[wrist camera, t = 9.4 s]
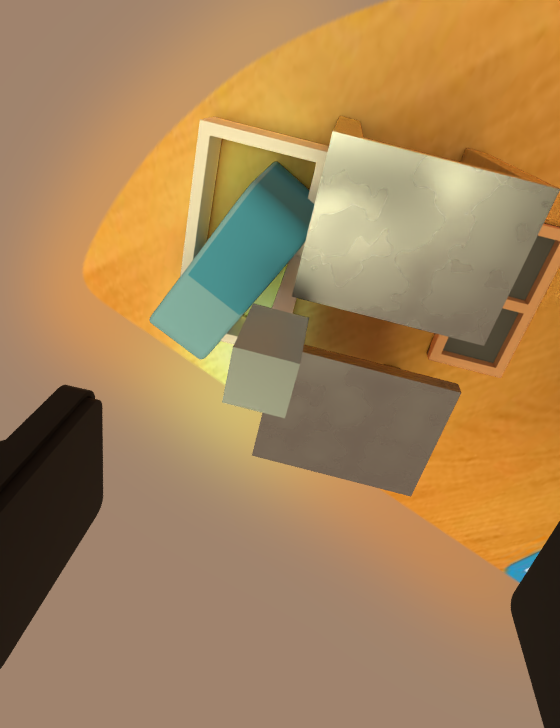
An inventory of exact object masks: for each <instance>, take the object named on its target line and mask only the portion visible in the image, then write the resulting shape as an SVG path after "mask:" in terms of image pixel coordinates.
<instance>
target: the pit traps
mask: <svg viewBox="0 0 560 728" xmlns="http://www.w3.org/2000/svg"><path fill="white" fill-rule="evenodd" d="M559 266H560V227H558V226H554V225H550V224H546V223H543V226H542V228H541V230H540V232H539V234H538V236H537V238H536V240H535V242H534V244H533V246H532V248H531V250H530V252H529V254H528V256H527V258H526V260H525V263H524V265H523V267H522V269H521V271H520V273H519V275H518V277H517V279H516V281H515V283H514V285H513V287H512V289H511V291H510V293H509V295H508V298H507V300H506V302H505V304H504V306H503V308H502V310H501V312H500V314H499V316H498V318H497V320H496V322H495V324H494V326H493V328H492V330H491V333H490V335H489V337H488V339H487V341H486V343H485V345H484V346H482V345H479V344H475V343H471V342H467V341H463V340H459V339H455V338H451V337H447V336H444V335H440V334H436V333H435V335H434V338H433V340H432V342H431V345H430V347H429V350H428V352H427V355H428V359H429V360H432V361H436V362H440V363H444V364H448V365H452V366H456V367H459V368H463V369H467V370H471V371H475V372H479V373H483V374H487V375H491V376H495V377H498V378H501V377H502V375H503V373H504V371H505V369H506V367H507V365H508V363H509V362H510V360H511V358H512V356H513V354H514V352H515V350H516V348H517V346H518V344H519V342H520V341H521V339H522V337H523V335H524V333H525V331H526V329H527V327H528V325H529V323H530V322H531V320H532V318H533V316H534V314H535V312H536V310H537V308H538V306H539V304H540V302H541V301H542V299H543V297H544V295H545V293H546V291H547V289H548V287H549V285H550V283H551V282H552V280H553V278H554V276H555V274H556V272H557V270H558V268H559Z"/></svg>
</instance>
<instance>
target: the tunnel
mask: <svg viewBox="0 0 560 728" xmlns="http://www.w3.org/2000/svg"><path fill="white" fill-rule="evenodd" d="M559 191H560V189H559V188H557V187H555V186H553V185H551V184H548V183H546V182H544V181H542V180H540V179H538V178H536V177H534V176H532V175H530V174H528V173H526V172H524V171H522V170H520V169H518V168H516V167H514V166H512V165H510V164H508V163H506V162H503V161H501V160H499V159H497V158H495V157H493V156H491V155H489V154H487V153H484V152H480V151H476V150H472V149H469V148H466V149H465V152H464V155H463V157H462V160H461V162H458V161H455V160H451V159H447V158H443V157H439V156H435V155H431V154H427V153H423V152H419V151H415V150H411V149H408V148H404V147H400V146H396V145H392V144H388V143H384V142H380V141H376V140H372V139H368V138H364V137H363V133H362V129H361V124H360V121H359V120H355V119H351V118H347V117H343V116H340V117H339V119H338V121H337V123H336V125H335V127H334V130H333V132H332V136H331V140H330V144H329V148H328V152H327V156H326V160H325V164H324V168H323V172H322V177H321V181H320V185H319V189H318V193H317V197H316V201H315V205H314V209H313V213H312V217H311V221H310V225H309V229H308V233H307V237H306V241H305V245H304V249H303V253H302V257H301V261H300V265H299V269H298V273H297V277H296V281H295V285H294V289H293V293H292V297H295V298H299V299H303V300H307V301H311V302H315V303H319V304H323V305H327V306H330V307H334V308H338V309H342V310H346V311H350V312H354V313H358V314H362V315H366V316H369V317H373V318H377V319H381V320H385V321H389V322H393V323H397V324H401V325H405V326H408V327H412V328H416V329H420V330H424V331H428V332H432V333H436V334H440V335H444V336H447V337H451V338H455V339H459V340H463V341H467V342H471V343H475V344H479V345H482V346H484V345H485V343H486V341H487V339H488V337H489V335H490V333H491V330H492V328H493V326H494V324H495V322H496V320H497V318H498V316H499V314H500V312H501V310H502V308H503V306H504V304H505V302H506V300H507V298H508V295H509V293H510V291H511V289H512V287H513V285H514V283H515V281H516V279H517V277H518V275H519V273H520V271H521V269H522V267H523V265H524V263H525V260H526V258H527V256H528V254H529V252H530V250H531V248H532V246H533V244H534V242H535V240H536V238H537V236H538V234H539V232H540V230H541V228H542V226H543V223H544V221H545V219H546V217H547V215H548V213H549V211H550V209H551V207H552V205H553V203H554V201H555V199H556V197H557V195H558V193H559ZM460 394H461V391H460V388H459V385H458V384H456V383H452V382H448V381H444V380H440V379H437V378H433V377H429V376H425V375H421V374H417V373H413V372H409V371H405V370H402V369H400V368H396V367H392V366H388V365H382V364H378V363H374V362H370V361H366V360H363V359H359V358H355V357H351V356H347V355H343V354H339V353H335V352H331V351H328V350H324V349H320V348H316V347H312V346H308V345H304V346H303V351H302V357H301V362H300V366H299V370H298V373H297V377H296V380H295V384H294V388H293V391H292V395H291V398H290V402H289V406H288V409H287V413H286V416H285V418H282V417H278V416H274V415H270V414H266V413H263V414H262V418H261V422H260V426H259V430H258V434H257V438H256V442H255V446H254V450H253V454H252V455H253V456H256V457H260V458H264V459H268V460H272V461H276V462H280V463H284V464H287V465H291V466H295V467H299V468H303V469H307V470H311V471H314V472H318V473H323V474H326V475H330V476H334V477H338V478H342V479H346V480H350V481H353V482H357V483H361V484H365V485H369V486H373V487H377V488H380V489H384V490H388V491H392V492H396V493H400V494H404V495H408V496H411V495H412V493H413V491H414V489H415V487H416V485H417V483H418V481H419V479H420V477H421V474H422V472H423V470H424V468H425V466H426V464H427V462H428V460H429V458H430V456H431V454H432V452H433V450H434V448H435V446H436V444H437V442H438V439H439V437H440V435H441V433H442V431H443V429H444V427H445V425H446V423H447V421H448V419H449V417H450V415H451V413H452V411H453V409H454V407H455V405H456V402H457V400H458V398H459V396H460Z"/></svg>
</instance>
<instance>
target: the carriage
mask: <svg viewBox="0 0 560 728" xmlns="http://www.w3.org/2000/svg"><path fill="white" fill-rule="evenodd" d="M222 139H226V140H230V141H234V142H238V143H242V144H246V145H250V146H254V147H257V148H261V149H265V150H269V151H273V152H277V153H281V154H285V155H289V156H293V157H297V158H301V159H304V160H308V161H312V162H316V166H315V170H314V175H313V179H312V183H311V187H310V191H309V195H308V199H309V200H310V201H311V202H313V203H314V204H315V201H316V197H317V193H318V189H319V185H320V181H321V177H322V172H323V168H324V164H325V160H326V156H327V152H328V148H329V146H327V145H323V144H319V143H315V142H311V141H307V140H304V139H300V138H296V137H292V136H288V135H284V134H280V133H276V132H272V131H268V130H264V129H260V128H257V127H253V126H249V125H245V124H241V123H237V122H233V121H229V120H225V119H221V118H217V117H210V118H206V119H201V120H200V124H199V132H198V140H197V148H196V156H195V164H194V172H193V180H192V188H191V196H190V204H189V212H188V220H187V228H186V236H185V244H184V252H183V260H182V268H181V275H182V274H183V273H184V271H185V270H186V269H187V267H188V266H189V265H190V263H191V262H192V261H193V259H194V258H195V257H196V255H197V254H198V253H199V251H200V250H201V249H202V247H203V246H204V245H205V243H206V242H207V236H208V230H209V223H210V216H211V209H212V202H213V196H214V189H215V182H216V175H217V168H218V162H219V155H220V148H221V141H222ZM304 245H305V242H304V244H303V245H302V246H301V248H300V249H299V250H298V252H297V253H296V254H295V255H294V256H293V258H292V259H291V260H290V261H289V263H288V265H287V268H286V271H285V274H284V276H283V279H282V282H281V285H280V287H279V290H278V293H277V295H276V298H275V301H274V304H273V306H272V308H269V307H265V306H261V305H257V304H253V305H252V307H251V309H250V311H249V313H248V316H247V317H244V316H241V318H240V319H239V320H238V321H237V322H236V323H235V324H234V326H233V327H232V328H231V329H230V330H229V331H228V333H227V334H226V335H225V336H224V337H223V338H222V339H221V341H223V342H226V343H230V344H234V346H233V350H232V355H231V360H230V365H229V370H228V376H227V381H226V386H225V391H224V396H223V401H222V402H223V403H227V404H231V405H236V406H239V407H243V408H247V409H251V410H254V411H259V412H262V413H266V414H270V415H274V416H278V417H282V418H285V416H286V413H287V409H288V406H289V402H290V398H291V395H292V391H293V388H294V384H295V380H296V377H297V373H298V370H299V366H300V362H301V357H302V351H303V346H304V341H305V336H306V330H307V325H308V320H309V318H308V317H304V316H300V315H296V314H293V310H294V306H295V303H296V299H297V298H295V297H292V293H293V289H294V285H295V281H296V277H297V273H298V269H299V265H300V261H301V257H302V253H303V249H304Z"/></svg>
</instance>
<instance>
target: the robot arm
mask: <svg viewBox="0 0 560 728" xmlns="http://www.w3.org/2000/svg"><path fill="white" fill-rule="evenodd" d="M102 438H103V437H102V403H101V401H100V400H97V399H95V395H94V393H93V392H92V391H90V390H86V389H82V388H77V387H72V386H68V385H63V386H61V387H59V388H58V389H57V390H56V391H55V392H54V393H53V394H52V395H51V396H50V397H49V398H48V399H47V400H46V401H45V402H44V403H43V404H42V405H41V406H40V407H39V408H38V409H37V410H36V411H35V412H34V413H33V414H32V415H30V416H29V418H28V419H26V420H25V422H23V423H22V425H20V426H19V427H18V428H17V429H16V430H15V431H14V432H13V433H12V434H11V435H10V436H9V437H8V438H7V439H6V440H3V441H0V669H1V667H2V666H3V665H4V663H5V661H6V660H7V658H8V657H9V655H10V654H11V652H12V650H13V649H14V647H15V646H16V644H17V642H18V641H19V639H20V638H21V636H22V634H23V632H24V631H25V630H26V628H27V626H28V625H29V623H30V622H31V620H32V618H33V617H34V615H35V614H36V612H37V610H38V608H39V607H40V605H41V604H42V602H43V601H44V599H45V598H46V596H47V594H48V592H49V591H50V590H51V588H52V586H53V585H54V583H55V581H56V580H57V578H58V577H59V575H60V573H61V572H62V570H63V569H64V567H65V565H66V564H67V562H68V561H69V559H70V557H71V556H72V554H73V553H74V551H75V549H76V548H77V546H78V544H79V543H80V541H81V540H82V538H83V537H84V535H85V533H86V532H87V530H88V529H89V527H90V525H91V523H92V522H93V521H94V519H95V517H96V516H97V514H98V512H99V510H100V508H101V504H102V500H103V450H102V449H103V444H102V443H103V439H102ZM511 612H512V617H513V620H514V624H515V627H516V631H517V634H518V638H519V641H520V644H521V648H522V652H523V655H524V658H525V662H526V665H527V669H528V673H529V676H530V679H531V683H532V686H533V690H534V693H535V697H536V700H537V704H538V707H539V711H540V714H541V718H542V721H543V725H544V728H560V521H559V523H558V524H557V526H556V528H555V529H554V531H553V532H552V534H551V535H550V537H549V539H548V540H547V542H546V543H545V545H544V546H543V548H542V549H541V551H540V553H539V554H538V556H537V557H536V559H535V560H534V562H533V564H532V565H531V567H530V568H529V570H528V571H527V573H526V574H525V576H524V578H523V579H522V581H521V582H520V584H519V585H518V587H517V589H516V590H515V592H514V594H513V596H512V599H511Z"/></svg>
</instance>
